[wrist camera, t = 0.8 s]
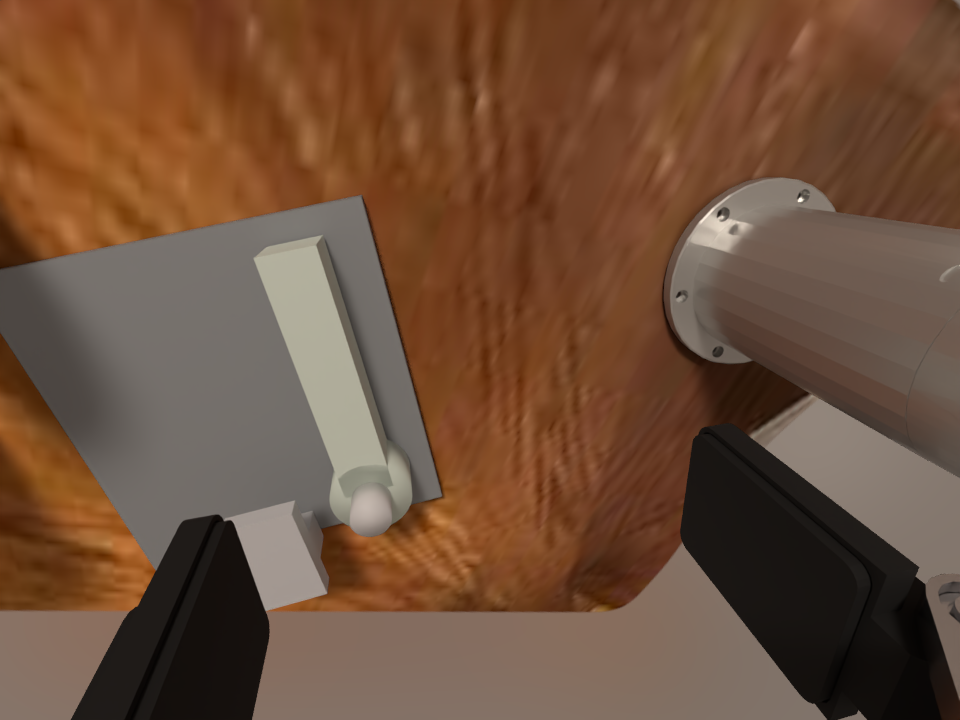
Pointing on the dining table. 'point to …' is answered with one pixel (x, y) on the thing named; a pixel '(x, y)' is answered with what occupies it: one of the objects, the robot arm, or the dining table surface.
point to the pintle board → (210, 383)
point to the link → (336, 386)
